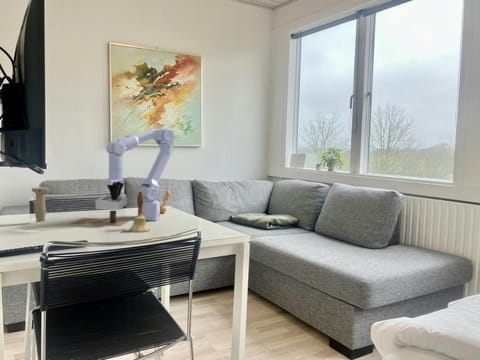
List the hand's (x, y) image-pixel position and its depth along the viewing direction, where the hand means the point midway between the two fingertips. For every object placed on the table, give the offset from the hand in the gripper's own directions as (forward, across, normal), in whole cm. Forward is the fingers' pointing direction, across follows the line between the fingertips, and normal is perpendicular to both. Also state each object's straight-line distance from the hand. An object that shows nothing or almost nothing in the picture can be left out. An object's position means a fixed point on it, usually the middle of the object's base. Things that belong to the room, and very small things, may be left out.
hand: (115, 199), depth 176 cm
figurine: (+11, -30, +14) cm, 35 cm away
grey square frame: (+2, +4, 0) cm, 5 cm away
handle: (+10, +8, -29) cm, 32 cm away
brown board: (+10, +4, -5) cm, 12 cm away
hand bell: (+11, +11, +15) cm, 21 cm away
